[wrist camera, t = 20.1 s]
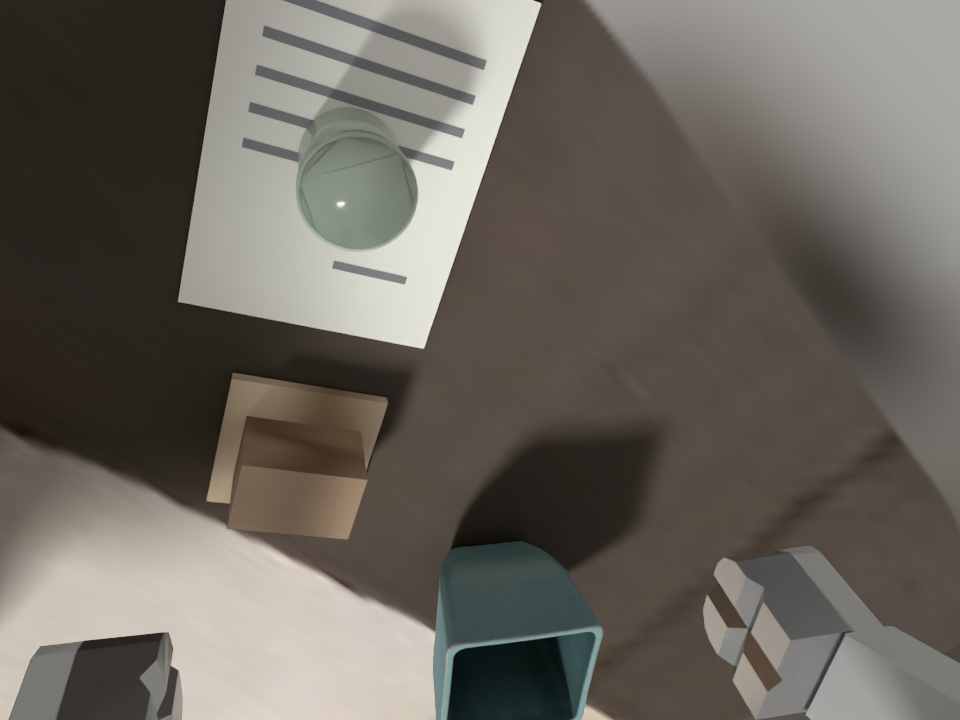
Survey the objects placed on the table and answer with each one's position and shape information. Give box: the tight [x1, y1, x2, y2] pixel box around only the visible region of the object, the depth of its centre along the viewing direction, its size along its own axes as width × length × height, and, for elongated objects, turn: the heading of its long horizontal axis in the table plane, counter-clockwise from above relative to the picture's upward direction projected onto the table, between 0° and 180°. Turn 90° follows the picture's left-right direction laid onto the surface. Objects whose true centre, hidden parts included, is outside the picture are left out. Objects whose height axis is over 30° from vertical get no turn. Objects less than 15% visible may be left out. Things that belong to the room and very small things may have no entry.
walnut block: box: [227, 416, 367, 539], centre depth 36 cm, size 6×4×4 cm, turn 70°
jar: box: [296, 108, 418, 252], centre depth 29 cm, size 5×5×5 cm
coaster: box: [207, 373, 388, 504], centre depth 38 cm, size 8×8×1 cm
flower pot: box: [433, 541, 603, 720], centre depth 43 cm, size 9×9×9 cm
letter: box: [178, 0, 541, 349], centre depth 31 cm, size 12×17×1 cm
